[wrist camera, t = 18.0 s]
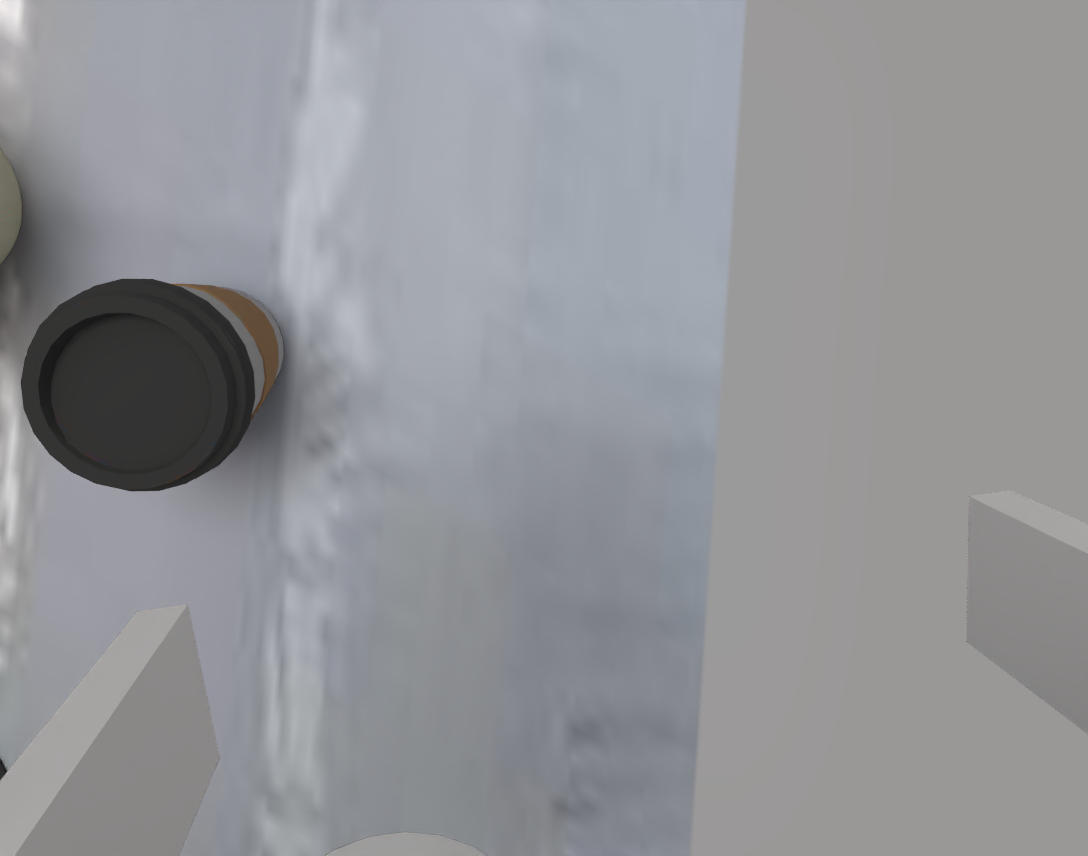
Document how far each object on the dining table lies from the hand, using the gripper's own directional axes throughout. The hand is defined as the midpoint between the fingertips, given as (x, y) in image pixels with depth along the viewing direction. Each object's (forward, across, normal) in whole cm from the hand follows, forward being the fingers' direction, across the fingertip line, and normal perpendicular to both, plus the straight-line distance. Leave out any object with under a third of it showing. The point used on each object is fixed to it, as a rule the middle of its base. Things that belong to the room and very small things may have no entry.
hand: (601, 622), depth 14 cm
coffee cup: (+35, -14, +2) cm, 38 cm away
